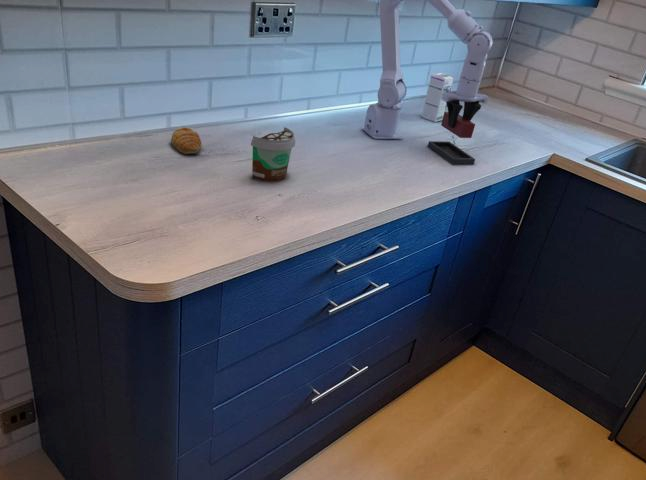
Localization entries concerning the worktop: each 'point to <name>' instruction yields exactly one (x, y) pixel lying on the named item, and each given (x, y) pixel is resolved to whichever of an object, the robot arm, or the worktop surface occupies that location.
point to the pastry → (186, 140)
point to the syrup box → (436, 97)
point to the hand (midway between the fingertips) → (457, 126)
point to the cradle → (451, 152)
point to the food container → (272, 155)
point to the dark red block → (459, 126)
